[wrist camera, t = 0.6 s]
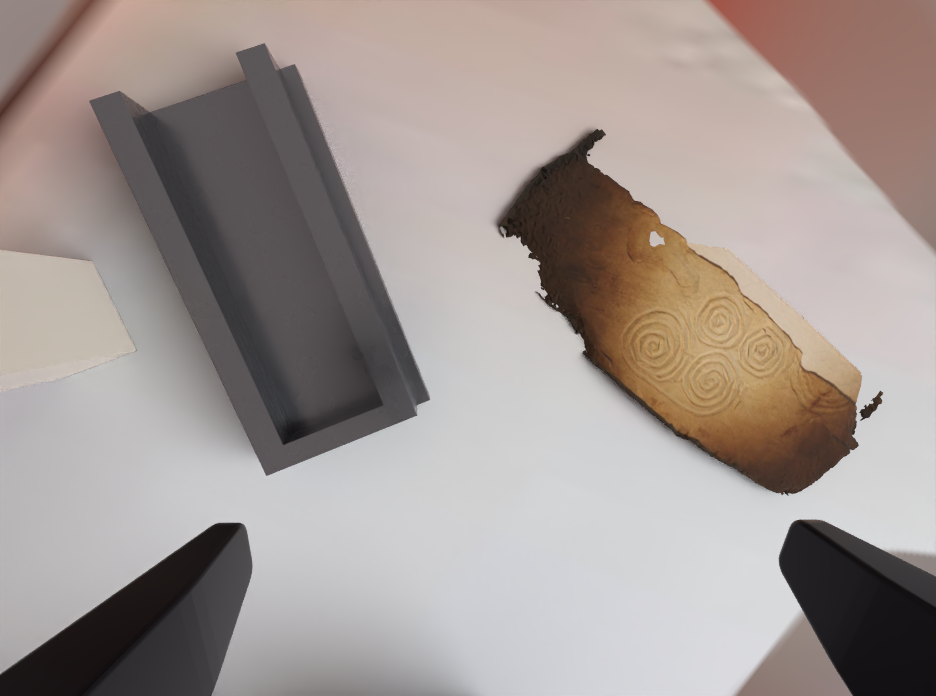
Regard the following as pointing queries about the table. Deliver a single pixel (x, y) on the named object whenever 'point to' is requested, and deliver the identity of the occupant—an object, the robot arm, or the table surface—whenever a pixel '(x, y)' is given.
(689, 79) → the table surface
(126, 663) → the robot arm
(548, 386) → the table surface
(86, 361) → the cream rectangular block
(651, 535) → the table surface
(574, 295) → the parchment
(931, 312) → the table surface
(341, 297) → the grey rectangular tray
